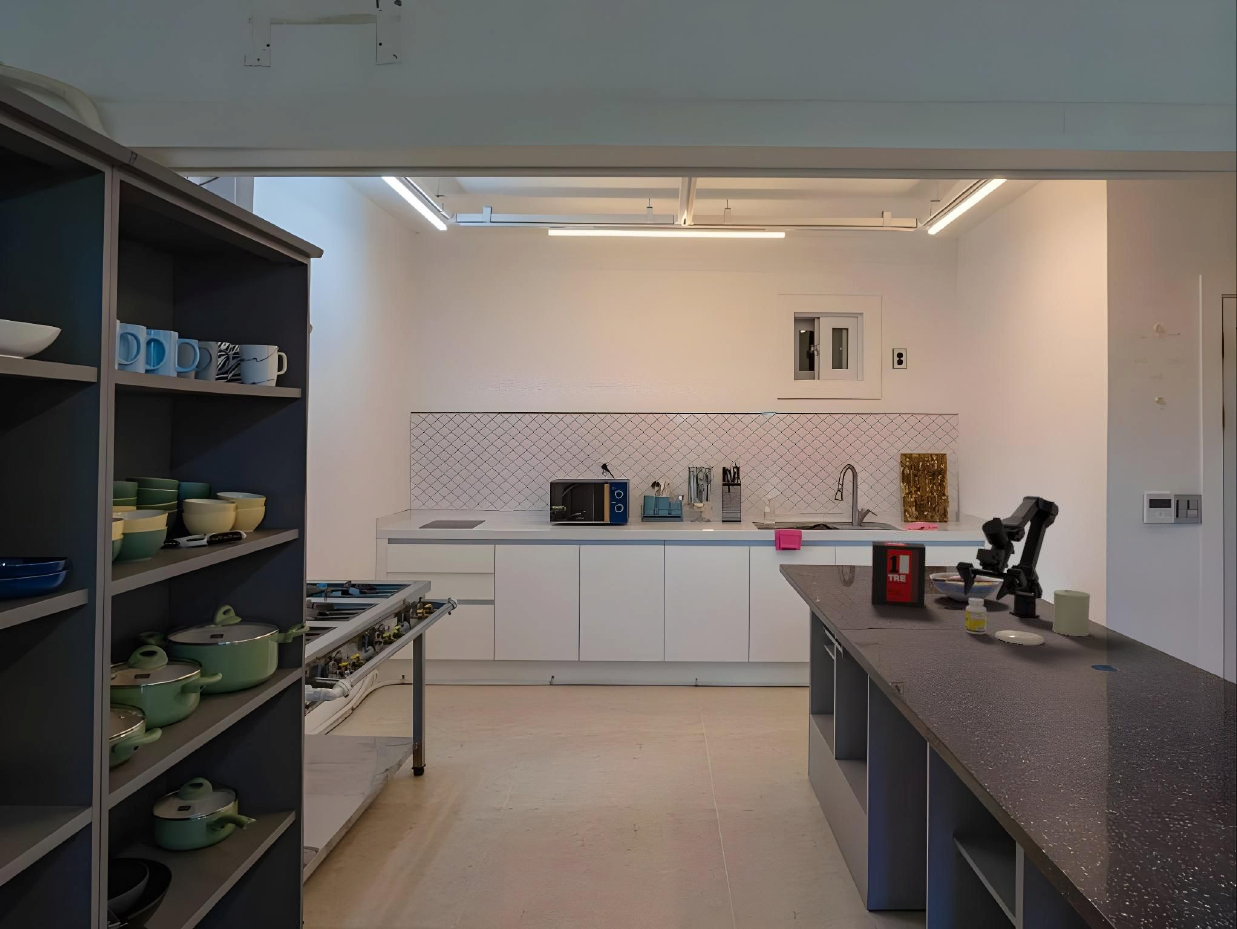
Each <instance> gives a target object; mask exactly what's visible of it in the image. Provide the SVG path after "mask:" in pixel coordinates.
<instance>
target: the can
mask: <svg viewBox="0 0 1237 929" xmlns="http://www.w3.org/2000/svg"><path fill="white" fill-rule="evenodd" d="M1090 598H1091V594H1089V593H1088V592H1085V591H1084V592H1083V591H1079V590H1070V589H1068V590H1067V589H1059V590H1054V591H1053V614H1052V615H1053V619H1052V628H1051V631H1052V632H1053V631H1055V632H1056V634H1058V633H1060V634H1059V635H1062V634H1065V635H1064V636H1067V635H1069V637H1077V636H1082V637H1088V636H1089V635H1090V632H1089V626H1090V624H1089V622H1090ZM1055 632H1054V633H1055Z"/></svg>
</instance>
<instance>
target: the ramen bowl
mask: <svg viewBox="0 0 1237 929" xmlns="http://www.w3.org/2000/svg"><path fill="white" fill-rule="evenodd" d="M929 577H930V580H931V582H932V584H933V585H934V586H935V588H936V590H938V592H940V593H941V594H943V595H945V596H947V597H949V598H951V599H953V600H955V601H957V602H968V603H969V598H981V599H985V598H988V597H989V596H991V595H993V594H994V593H995V592H996V590H997V589H998V588H1000V586H1001V585H1002V583H1003V580H1002V581H1001V579H995V578H989V577H986V576H979V575H976V578H975V580H974V582H975V583H974V584H973V586H972V588H971V590H970V591H969V593H968V594H967V595H965V594H964V580H963V579H962V578H961V577H960V575H959V573H958V572H938V573H932V574H930V575H929Z"/></svg>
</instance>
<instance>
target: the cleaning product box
mask: <svg viewBox="0 0 1237 929" xmlns="http://www.w3.org/2000/svg"><path fill="white" fill-rule="evenodd" d="M871 545H872V546H871V547H872V548H871V596H870V597H871V598H870V601H871V605H883V606H893V607H894V606H897V607H910V608H911V607H912V608H914V607H915V608H925V595H926V594H925V593H926V591H925V590H926V589H925V588H926V554H927V553H926V551H927V550H926V548H927V547H926V545H925V543H915V542H910V543H909V542H892V541H891V542H890V541H872V544H871Z"/></svg>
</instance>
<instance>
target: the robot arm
mask: <svg viewBox="0 0 1237 929" xmlns="http://www.w3.org/2000/svg"><path fill="white" fill-rule="evenodd" d="M1059 508H1060V507H1059V506H1058V505H1057V503H1055V501H1051V500H1048V499H1044V498H1043V497H1040V496H1033V495H1026V496H1023V497H1022V502H1021V503H1020V504H1019V505H1018V507H1017V508H1016V509H1015V510H1014V512H1012V514H1011V516H1009V517H1005V518H1002V519H1001V517H996V516H995V517H992V519H990V520H987V521H986V522H985V523H983V524H982V527H981V530H982V532H983V534H984V537H985V538H986V541H987V543H988V544H989V545H990V546H991V547H990V548H981V547H980V548H978V549H977V553H976V556H975V560H978V561H979V562H978V564H979V567H981V568H979V567H975V566H974V564H973V562H965V561H959V562H958V563H957V565H956V566H955V569H956V571H957V573H959V575H960V577H961V578H962V579H963V580H964V594H965V595H967V594H968V593H969V591H970V590H971V588H972V586H973V584H974V583H975V582H974V580H975V578H976V575H979V576H986V577H989V578H995V579H999V580H1002V582H1001V584H1000V586H999V589H998V591H997V594H996V597H995V600H996V601H997V602H998V601H1000V600H1002V599H1003V598H1005V597H1006V596H1007V595H1010V596H1011V595H1012V596H1013V611H1012V610H1011V611H1010V610H1009V612H1008V614H1011V615H1014V616H1016V617H1020V618H1040V617H1041V615H1039V614H1037V602H1036V601H1037V599H1038V600H1039V599H1042V597H1043V588H1042V586H1041V583H1040V581H1039V579H1040V577H1039V574H1038V572H1037V570H1036V568H1037V564H1038V561H1039V557H1040V553H1041V550H1042V547H1043V542H1044V539H1045V535H1046V532H1047V529H1048V528H1050V526H1051V525H1053V524H1054V523H1055V520H1056V518H1057V517H1058V516H1059V511H1060V510H1059ZM1029 522H1030V523H1029ZM1027 524H1029V528H1028V531H1027V535H1026V529H1025V527H1026V526H1027ZM1025 535H1026V538H1025ZM1024 538H1025V541H1024V545H1023V548H1022V552H1021V555H1020V560H1019V562H1018V564H1013V565H1012V566H1011V567H1009V563H1008V562H1009V560H1010V559H1011V558H1010V557H1011V555H1015V554H1016V552H1015V545H1014V542H1015V543H1019V542H1021V541H1022V540H1023V539H1024ZM1005 570H1006V571H1005Z"/></svg>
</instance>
